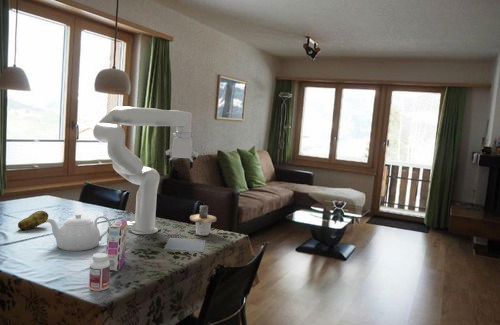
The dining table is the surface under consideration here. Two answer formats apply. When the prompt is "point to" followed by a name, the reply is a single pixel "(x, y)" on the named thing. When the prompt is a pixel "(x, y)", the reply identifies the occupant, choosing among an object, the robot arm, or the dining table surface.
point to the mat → (185, 244)
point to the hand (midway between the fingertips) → (181, 168)
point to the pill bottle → (99, 272)
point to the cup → (203, 228)
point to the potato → (33, 220)
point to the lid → (203, 216)
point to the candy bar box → (116, 244)
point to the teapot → (77, 233)
